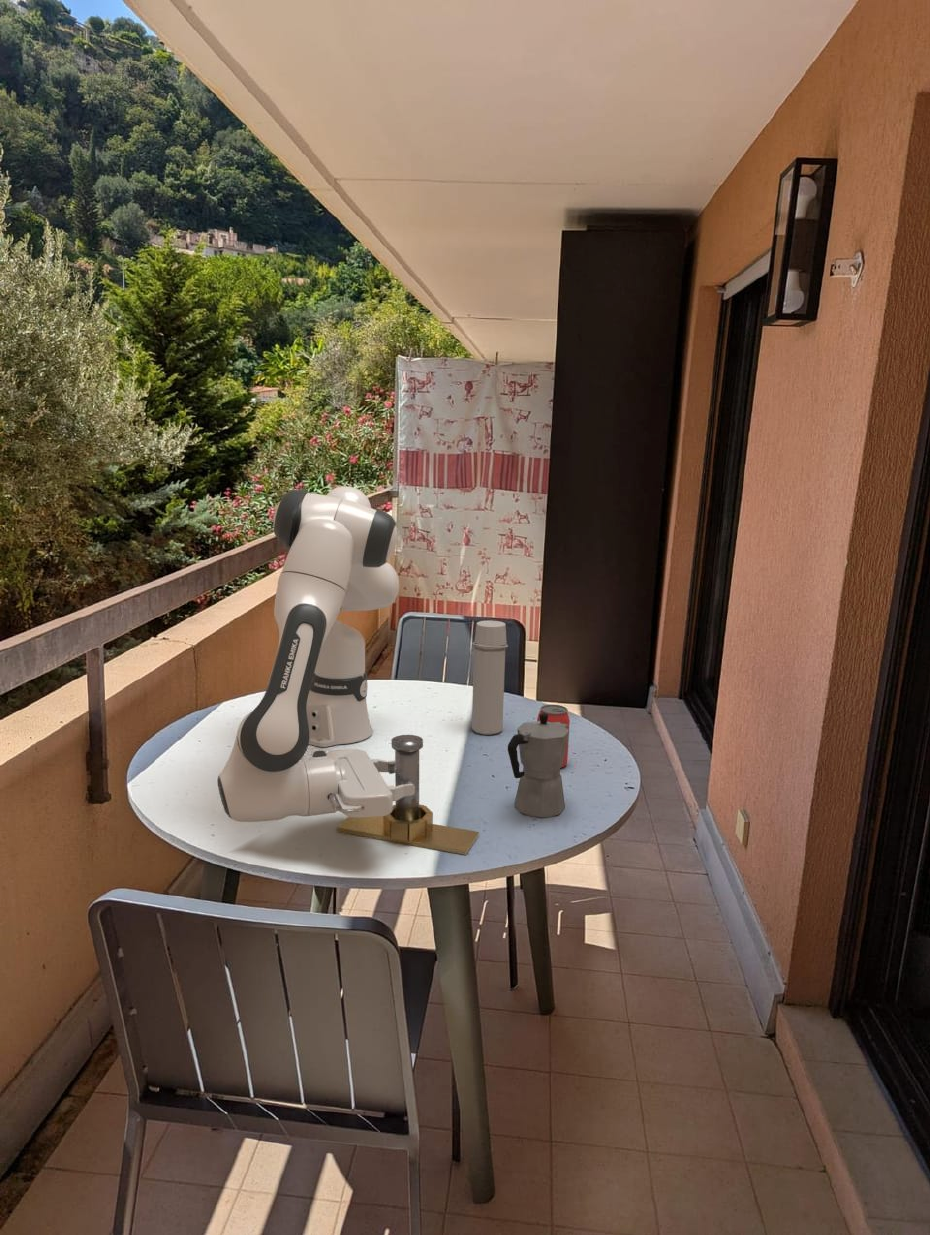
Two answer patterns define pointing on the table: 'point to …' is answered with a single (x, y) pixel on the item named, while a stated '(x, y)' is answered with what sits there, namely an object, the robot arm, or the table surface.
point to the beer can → (557, 720)
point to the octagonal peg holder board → (412, 831)
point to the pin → (407, 774)
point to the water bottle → (488, 677)
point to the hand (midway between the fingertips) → (405, 776)
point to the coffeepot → (539, 766)
